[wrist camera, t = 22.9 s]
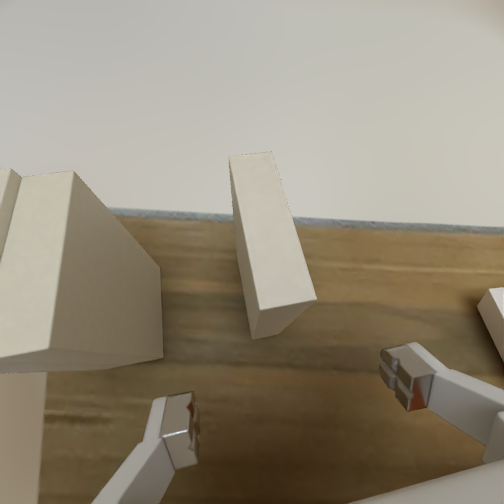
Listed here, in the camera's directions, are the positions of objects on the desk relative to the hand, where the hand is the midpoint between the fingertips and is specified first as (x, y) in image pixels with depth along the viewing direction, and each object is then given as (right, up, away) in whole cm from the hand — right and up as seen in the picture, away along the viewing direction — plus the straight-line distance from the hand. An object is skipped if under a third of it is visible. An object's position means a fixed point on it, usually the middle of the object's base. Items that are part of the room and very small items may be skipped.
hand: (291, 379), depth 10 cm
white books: (-13, -1, +14) cm, 19 cm away
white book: (-1, +1, +15) cm, 15 cm away
